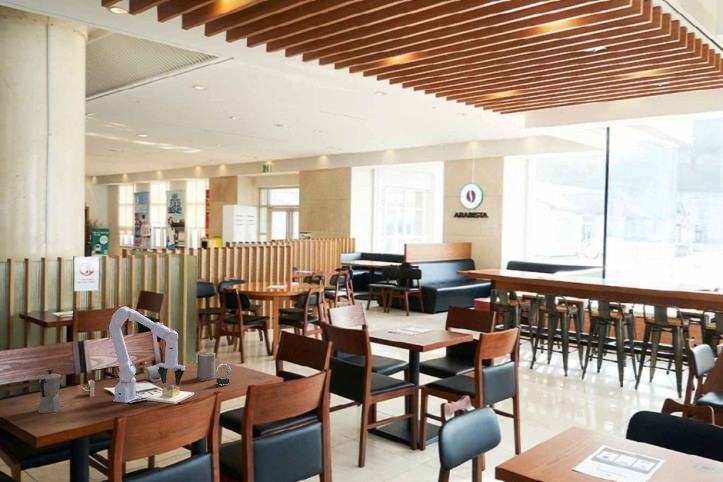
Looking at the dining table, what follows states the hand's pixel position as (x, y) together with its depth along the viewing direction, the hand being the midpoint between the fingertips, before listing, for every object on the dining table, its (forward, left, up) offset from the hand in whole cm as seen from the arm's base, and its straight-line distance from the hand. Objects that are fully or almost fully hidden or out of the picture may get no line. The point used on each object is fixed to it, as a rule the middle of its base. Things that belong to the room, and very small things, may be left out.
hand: (170, 383), depth 282 cm
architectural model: (-11, +38, -7) cm, 40 cm away
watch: (+30, -11, -7) cm, 33 cm away
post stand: (0, 0, -7) cm, 7 cm away
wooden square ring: (0, 0, -6) cm, 6 cm away
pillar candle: (+38, +4, -7) cm, 39 cm away
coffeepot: (-37, +37, -7) cm, 53 cm away
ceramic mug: (+25, +28, -7) cm, 38 cm away
